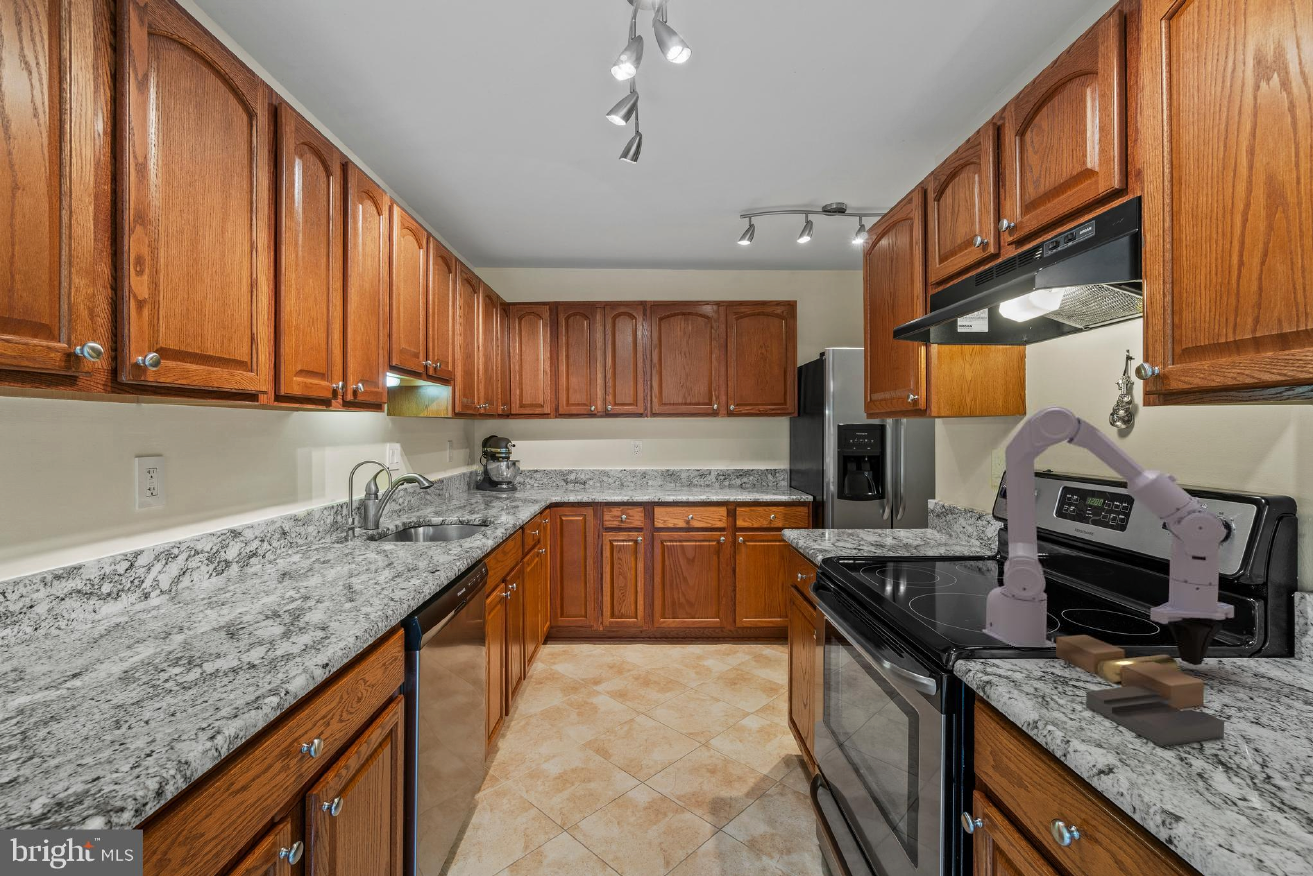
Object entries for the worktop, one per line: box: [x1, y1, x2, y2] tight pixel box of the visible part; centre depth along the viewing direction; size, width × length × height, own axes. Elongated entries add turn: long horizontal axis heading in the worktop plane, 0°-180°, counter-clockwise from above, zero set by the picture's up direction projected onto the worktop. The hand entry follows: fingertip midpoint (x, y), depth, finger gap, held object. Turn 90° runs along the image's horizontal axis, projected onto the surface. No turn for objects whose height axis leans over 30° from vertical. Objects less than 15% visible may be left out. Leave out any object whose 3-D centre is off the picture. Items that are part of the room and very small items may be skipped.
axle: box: [1098, 654, 1180, 684], centre depth 89 cm, size 12×3×3 cm, turn 101°
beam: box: [1055, 634, 1205, 709], centre depth 88 cm, size 18×6×3 cm, turn 11°
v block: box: [1085, 685, 1225, 748], centre depth 76 cm, size 10×10×2 cm
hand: (1190, 662), depth 91 cm, fingers closed
